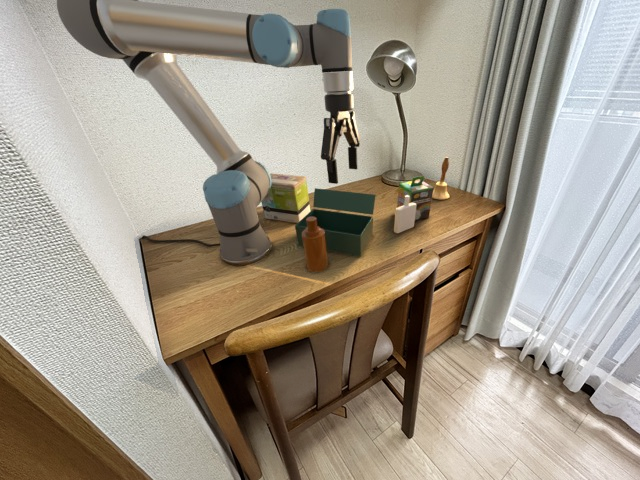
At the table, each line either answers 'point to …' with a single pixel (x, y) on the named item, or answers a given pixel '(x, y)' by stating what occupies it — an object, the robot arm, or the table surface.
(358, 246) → the carton
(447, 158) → the hand bell
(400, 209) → the perfume bottle
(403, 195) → the chalk box
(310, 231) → the amber bottle
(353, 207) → the flap
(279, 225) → the table surface
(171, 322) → the table surface
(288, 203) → the tea box
